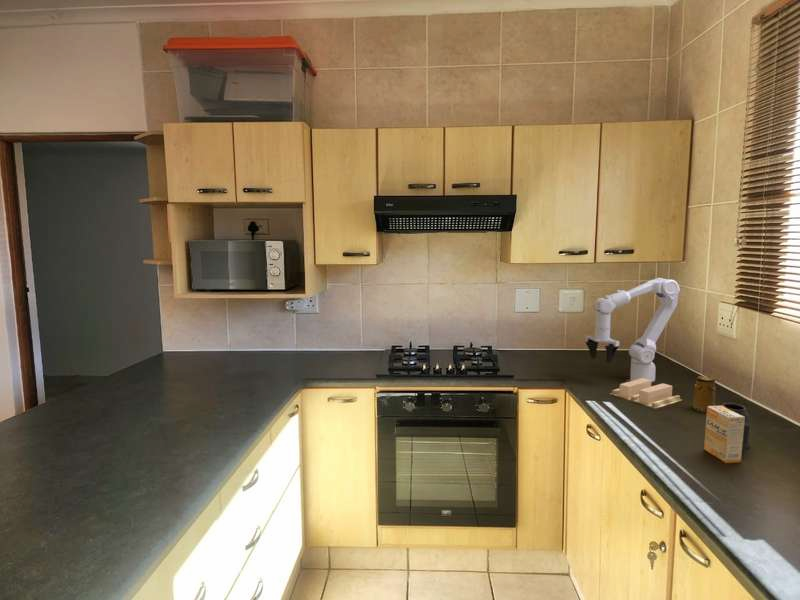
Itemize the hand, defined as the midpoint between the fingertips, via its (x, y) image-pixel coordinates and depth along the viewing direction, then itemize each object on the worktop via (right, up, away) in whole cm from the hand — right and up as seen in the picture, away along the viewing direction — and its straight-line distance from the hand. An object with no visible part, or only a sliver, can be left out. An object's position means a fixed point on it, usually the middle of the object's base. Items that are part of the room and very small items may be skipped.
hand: (601, 360), depth 193 cm
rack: (+9, -12, -17) cm, 23 cm away
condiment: (+22, -14, -32) cm, 41 cm away
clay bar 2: (+11, -12, -21) cm, 26 cm away
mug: (+14, -18, -57) cm, 61 cm away
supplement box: (+6, -19, -63) cm, 66 cm away
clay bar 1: (+7, -11, -14) cm, 19 cm away
